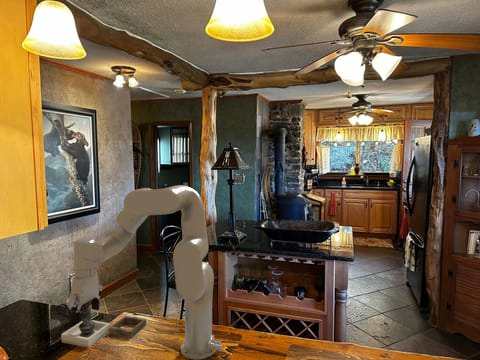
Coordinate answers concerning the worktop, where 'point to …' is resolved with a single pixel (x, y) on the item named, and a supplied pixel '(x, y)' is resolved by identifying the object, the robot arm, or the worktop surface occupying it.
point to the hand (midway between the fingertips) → (86, 315)
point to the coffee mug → (71, 312)
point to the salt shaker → (87, 323)
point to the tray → (74, 337)
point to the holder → (119, 331)
